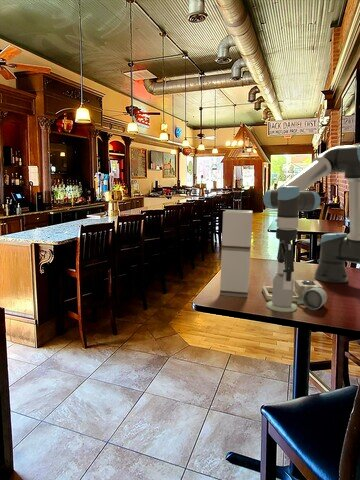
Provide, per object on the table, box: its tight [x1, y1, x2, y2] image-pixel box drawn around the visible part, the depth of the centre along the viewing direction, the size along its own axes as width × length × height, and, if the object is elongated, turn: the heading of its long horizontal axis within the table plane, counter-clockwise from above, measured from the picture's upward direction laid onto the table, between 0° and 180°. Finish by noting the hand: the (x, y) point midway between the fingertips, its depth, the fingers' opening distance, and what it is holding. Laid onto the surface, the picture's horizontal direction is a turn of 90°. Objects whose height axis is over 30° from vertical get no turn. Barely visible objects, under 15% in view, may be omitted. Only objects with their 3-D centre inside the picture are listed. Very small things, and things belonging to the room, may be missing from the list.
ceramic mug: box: [296, 287, 328, 311], centre depth 141 cm, size 11×8×8 cm
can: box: [271, 272, 295, 308], centre depth 139 cm, size 8×8×12 cm
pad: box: [266, 300, 297, 313], centre depth 140 cm, size 11×11×1 cm
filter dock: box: [261, 279, 324, 303], centre depth 152 cm, size 22×13×6 cm, turn 85°
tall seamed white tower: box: [219, 209, 254, 298], centre depth 154 cm, size 11×11×35 cm
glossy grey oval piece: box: [303, 279, 315, 285], centre depth 152 cm, size 4×4×5 cm
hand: (283, 283), depth 138 cm, fingers open, 13 cm apart
